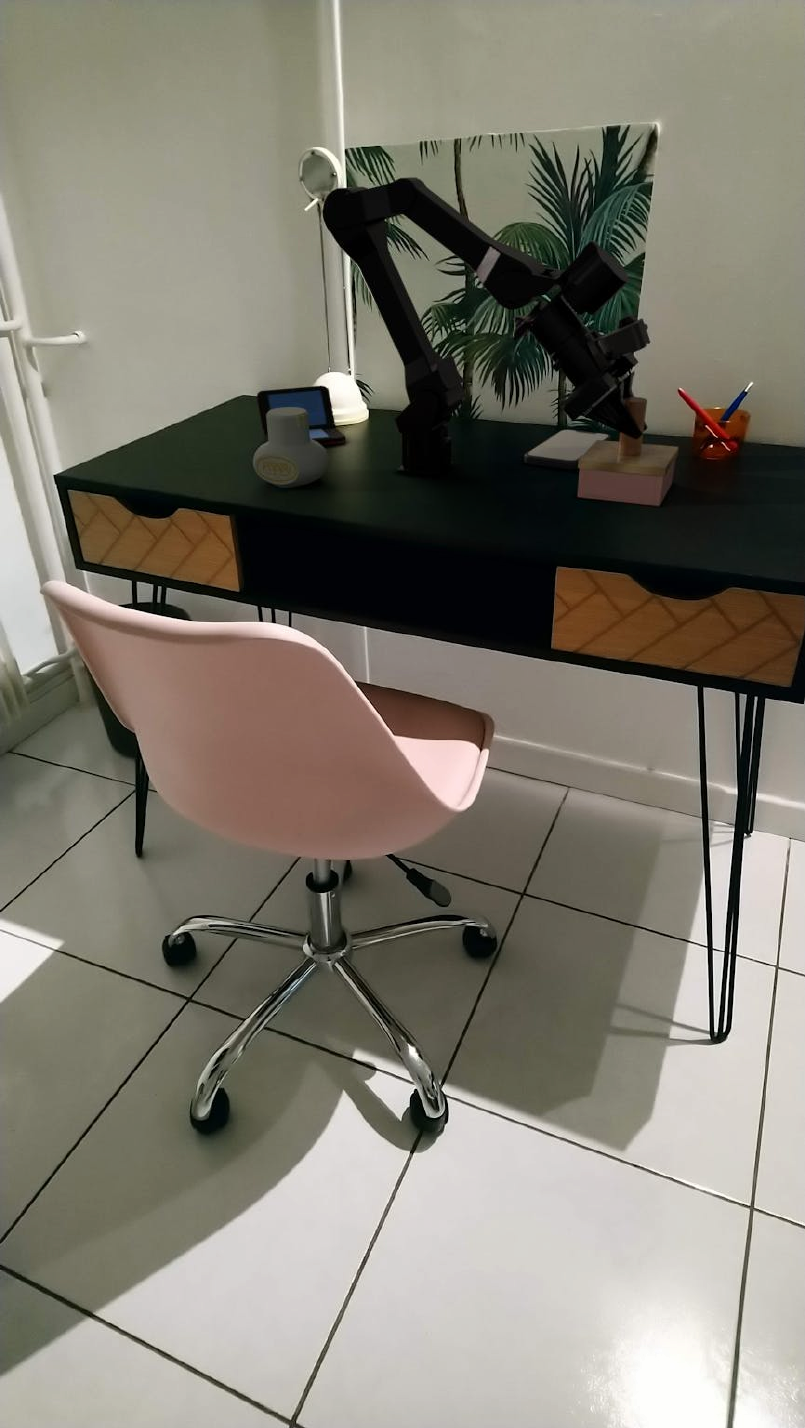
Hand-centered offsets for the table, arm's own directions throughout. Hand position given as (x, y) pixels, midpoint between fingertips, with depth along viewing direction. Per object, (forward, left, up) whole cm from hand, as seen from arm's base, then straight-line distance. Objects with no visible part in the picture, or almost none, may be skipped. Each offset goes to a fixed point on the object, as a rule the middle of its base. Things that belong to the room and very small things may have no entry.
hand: (642, 433), depth 119 cm
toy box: (-1, 0, -8) cm, 8 cm away
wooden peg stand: (-1, 0, -4) cm, 4 cm away
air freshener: (-47, -12, -8) cm, 50 cm away
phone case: (-13, +15, -8) cm, 22 cm away
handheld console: (-57, +9, -8) cm, 59 cm away
